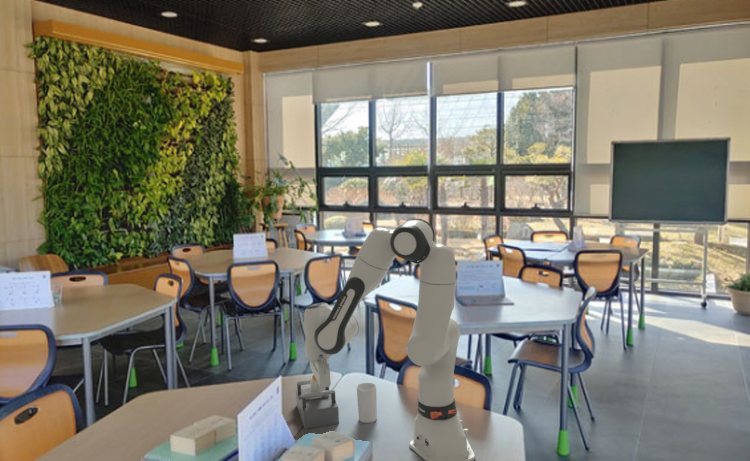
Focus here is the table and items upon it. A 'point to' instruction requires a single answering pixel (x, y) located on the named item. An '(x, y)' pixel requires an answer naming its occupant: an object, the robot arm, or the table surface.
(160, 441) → the table surface
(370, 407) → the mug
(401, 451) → the table surface
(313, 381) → the lever
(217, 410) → the table surface
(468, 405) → the table surface
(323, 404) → the grey lever base
